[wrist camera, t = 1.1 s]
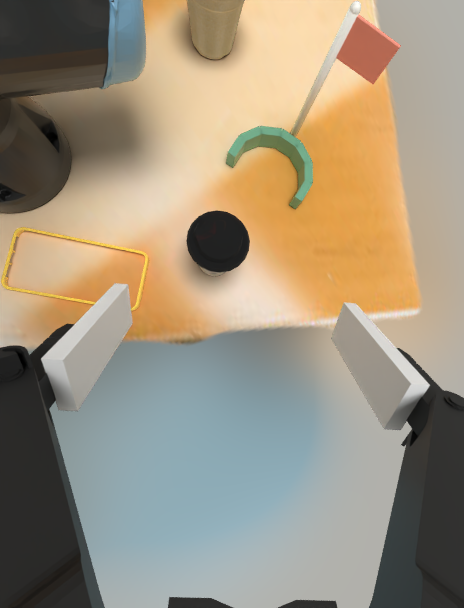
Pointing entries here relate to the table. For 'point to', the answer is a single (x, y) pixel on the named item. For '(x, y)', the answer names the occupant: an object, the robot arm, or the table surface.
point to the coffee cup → (217, 242)
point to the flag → (353, 54)
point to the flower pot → (214, 25)
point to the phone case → (20, 230)
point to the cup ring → (285, 145)
